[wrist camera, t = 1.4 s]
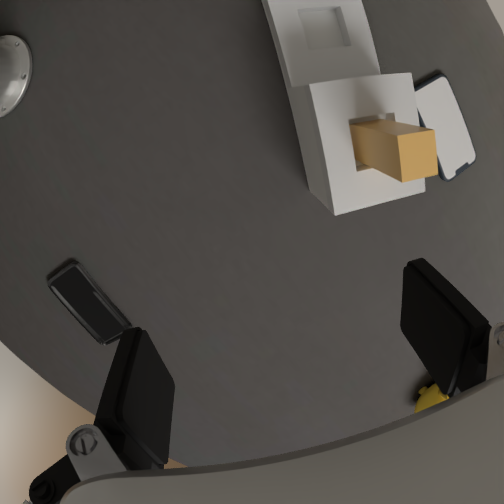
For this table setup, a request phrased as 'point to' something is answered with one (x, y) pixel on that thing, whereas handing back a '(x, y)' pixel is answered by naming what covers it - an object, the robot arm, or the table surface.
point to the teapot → (429, 397)
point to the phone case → (445, 126)
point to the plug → (395, 148)
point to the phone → (88, 303)
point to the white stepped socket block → (338, 97)
